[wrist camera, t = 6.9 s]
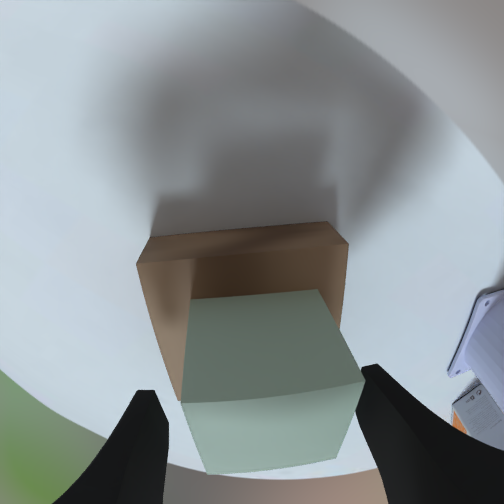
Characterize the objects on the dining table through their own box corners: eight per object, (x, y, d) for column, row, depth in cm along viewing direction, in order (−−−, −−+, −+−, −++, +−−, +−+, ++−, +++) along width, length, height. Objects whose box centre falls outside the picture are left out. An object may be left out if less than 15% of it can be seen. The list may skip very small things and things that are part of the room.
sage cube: (317, 288, 12) (365, 380, 7) (308, 373, 14) (335, 458, 10) (190, 299, 12) (180, 403, 7) (206, 383, 14) (207, 474, 9)
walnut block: (324, 218, 14) (348, 243, 11) (316, 347, 17) (330, 383, 15) (151, 234, 13) (136, 263, 11) (181, 361, 17) (177, 400, 14)
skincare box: (450, 404, 23) (499, 489, 12) (481, 381, 23) (535, 459, 12) (449, 424, 26) (489, 497, 15) (477, 404, 25) (520, 473, 14)
